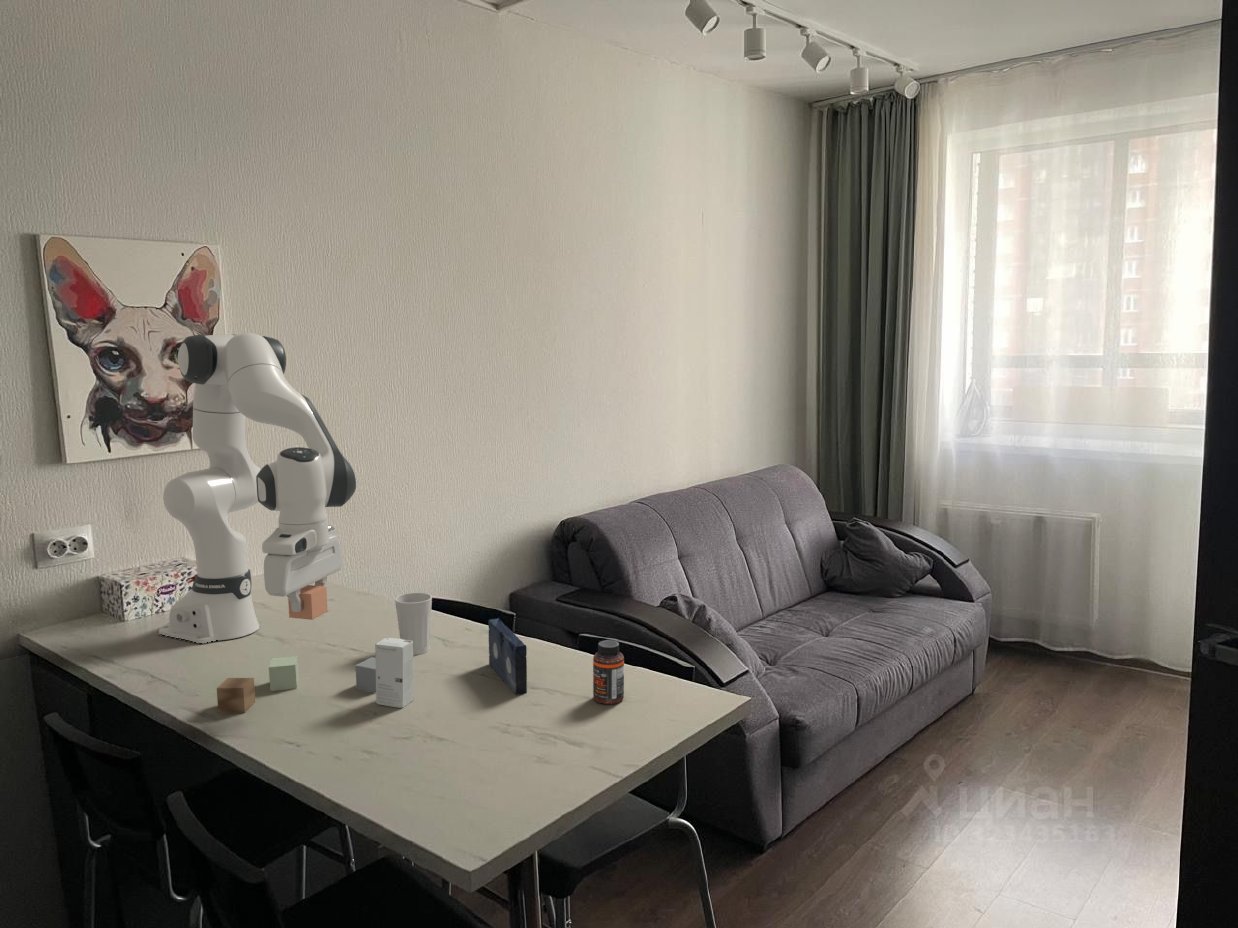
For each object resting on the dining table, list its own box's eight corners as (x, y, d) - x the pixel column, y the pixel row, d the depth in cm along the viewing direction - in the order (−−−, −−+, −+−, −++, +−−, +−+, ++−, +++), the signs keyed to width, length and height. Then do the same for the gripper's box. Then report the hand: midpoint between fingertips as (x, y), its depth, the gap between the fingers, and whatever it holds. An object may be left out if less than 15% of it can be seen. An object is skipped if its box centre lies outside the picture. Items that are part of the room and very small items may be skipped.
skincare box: (375, 705, 180) (372, 644, 178) (387, 696, 184) (385, 636, 182) (404, 708, 178) (401, 647, 176) (416, 699, 182) (413, 639, 180)
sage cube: (270, 691, 187) (268, 667, 186) (272, 681, 192) (271, 658, 191) (296, 688, 188) (295, 664, 187) (298, 679, 193) (297, 656, 192)
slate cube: (356, 689, 188) (355, 665, 187) (373, 680, 192) (372, 657, 191) (376, 693, 186) (375, 669, 185) (392, 684, 190) (391, 660, 189)
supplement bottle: (586, 699, 182) (586, 643, 180) (607, 690, 186) (606, 635, 184) (610, 708, 178) (609, 650, 176) (630, 698, 182) (630, 642, 180)
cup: (438, 644, 213) (436, 592, 211) (427, 656, 205) (425, 603, 203) (403, 643, 214) (401, 591, 212) (392, 655, 206) (389, 602, 204)
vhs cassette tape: (527, 693, 185) (526, 645, 183) (513, 696, 184) (512, 647, 182) (502, 662, 202) (501, 617, 200) (488, 664, 201) (487, 619, 199)
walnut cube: (218, 713, 176) (216, 687, 176) (229, 702, 181) (227, 677, 181) (244, 713, 176) (243, 688, 176) (255, 702, 181) (253, 677, 181)
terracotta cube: (289, 617, 178) (287, 591, 177) (304, 609, 183) (303, 584, 182) (312, 619, 177) (311, 593, 176) (327, 611, 181) (326, 586, 181)
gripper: (320, 522, 188) (324, 589, 190) (255, 546, 168) (260, 620, 171) (349, 524, 186) (352, 591, 188) (286, 548, 167) (290, 623, 169)
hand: (308, 605), depth 179 cm, fingers closed on terracotta cube, 5 cm apart
